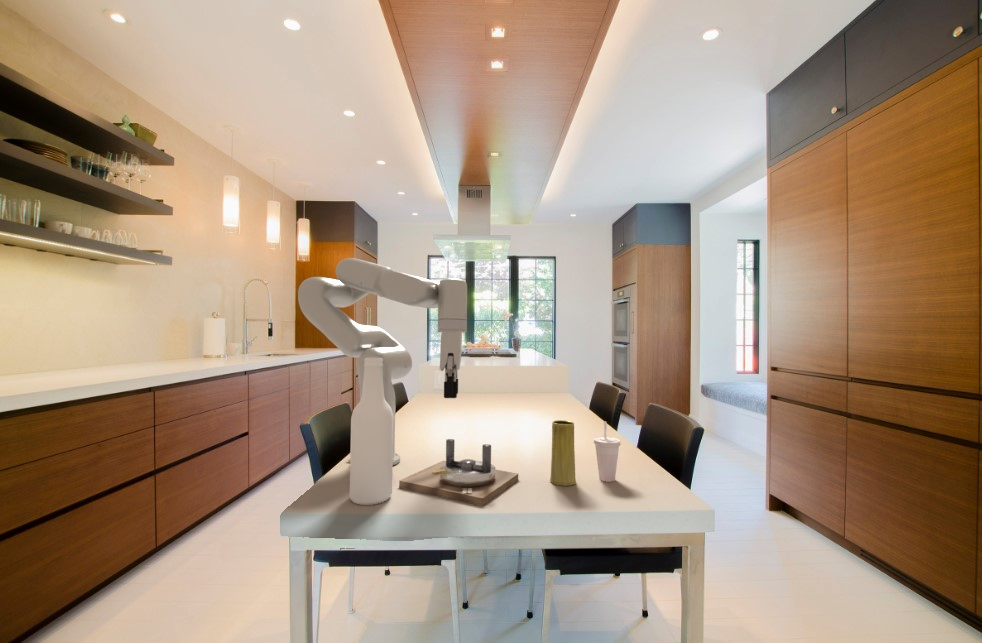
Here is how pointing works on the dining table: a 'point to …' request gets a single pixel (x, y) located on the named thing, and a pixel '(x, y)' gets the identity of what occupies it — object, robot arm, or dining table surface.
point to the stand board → (475, 495)
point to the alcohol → (371, 440)
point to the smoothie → (607, 456)
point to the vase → (563, 453)
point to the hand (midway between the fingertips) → (451, 395)
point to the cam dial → (466, 468)
